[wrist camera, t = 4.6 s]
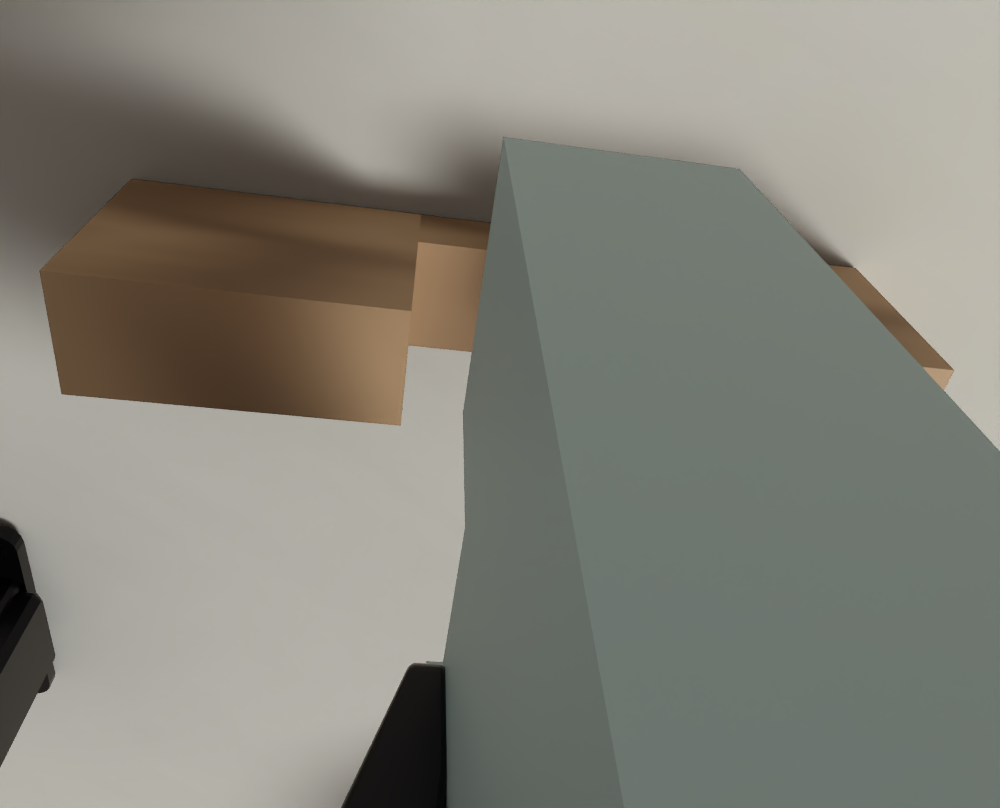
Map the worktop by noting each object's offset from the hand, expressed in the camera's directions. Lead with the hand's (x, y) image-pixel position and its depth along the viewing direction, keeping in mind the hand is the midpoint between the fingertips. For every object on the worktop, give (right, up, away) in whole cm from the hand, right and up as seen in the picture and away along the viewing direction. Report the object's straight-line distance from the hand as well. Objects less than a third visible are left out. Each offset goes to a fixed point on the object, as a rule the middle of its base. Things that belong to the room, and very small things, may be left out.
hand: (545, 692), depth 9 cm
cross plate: (0, +1, +2) cm, 2 cm away
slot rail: (0, +6, +9) cm, 11 cm away
